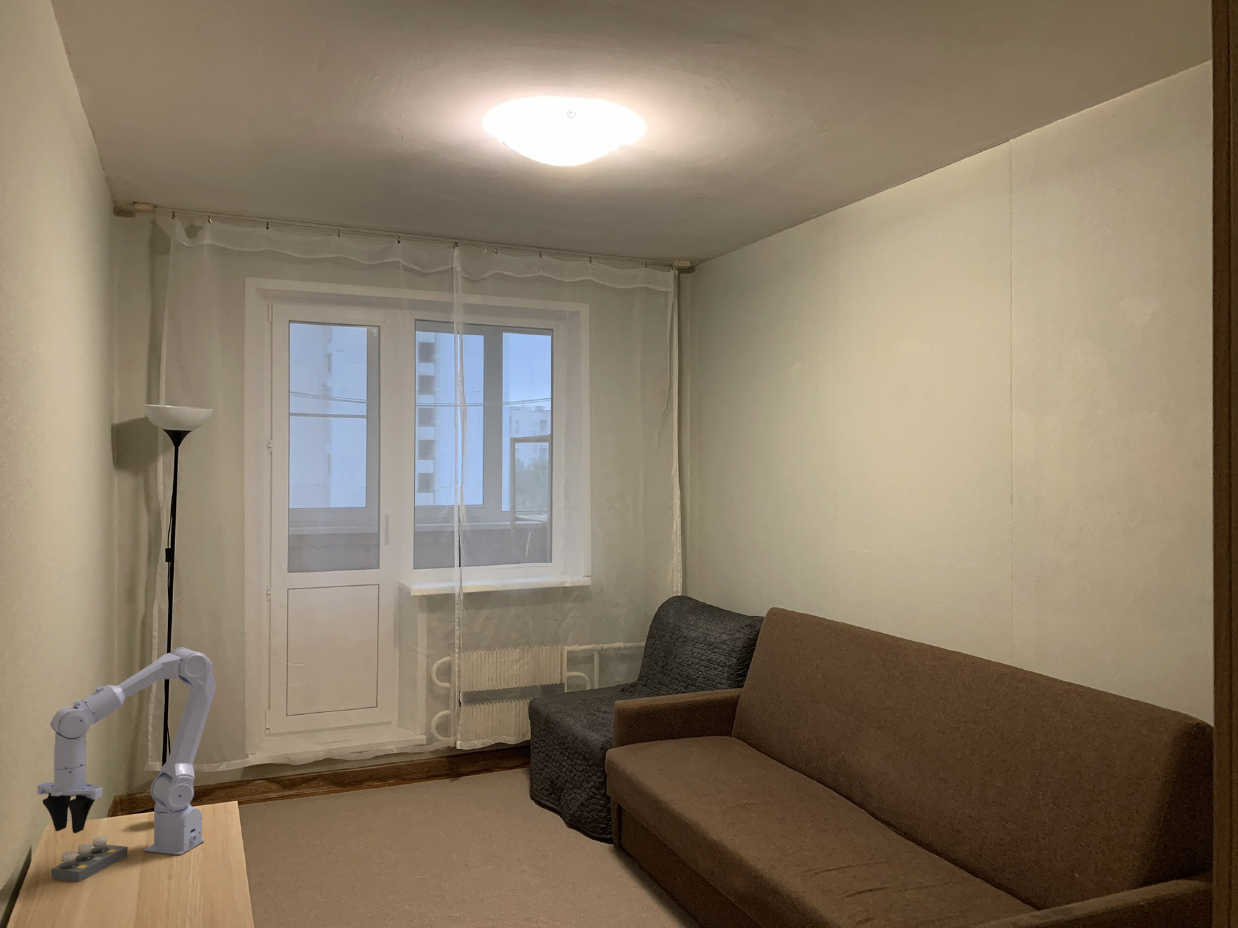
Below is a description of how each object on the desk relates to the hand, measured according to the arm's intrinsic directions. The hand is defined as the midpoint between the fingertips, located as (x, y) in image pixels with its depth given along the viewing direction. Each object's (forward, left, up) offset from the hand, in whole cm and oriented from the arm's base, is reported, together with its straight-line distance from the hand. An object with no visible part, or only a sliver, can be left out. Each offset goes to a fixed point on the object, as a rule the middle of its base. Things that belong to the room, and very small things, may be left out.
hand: (69, 830), depth 185 cm
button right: (0, -8, -6) cm, 10 cm away
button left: (0, 0, -6) cm, 6 cm away
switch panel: (-1, -5, -9) cm, 10 cm away
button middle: (0, -4, -6) cm, 7 cm away
